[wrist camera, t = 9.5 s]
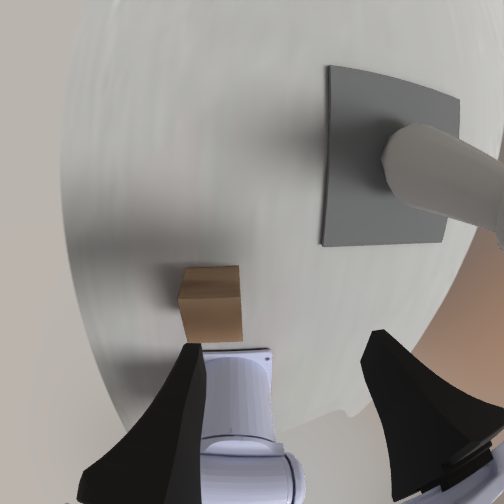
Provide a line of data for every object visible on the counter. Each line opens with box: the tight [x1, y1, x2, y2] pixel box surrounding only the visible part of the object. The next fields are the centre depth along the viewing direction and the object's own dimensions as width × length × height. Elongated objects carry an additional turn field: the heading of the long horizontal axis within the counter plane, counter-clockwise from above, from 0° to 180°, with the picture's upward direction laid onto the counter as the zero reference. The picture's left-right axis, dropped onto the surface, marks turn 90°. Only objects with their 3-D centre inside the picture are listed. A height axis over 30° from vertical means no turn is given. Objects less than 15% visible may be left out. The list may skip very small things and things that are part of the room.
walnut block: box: [177, 266, 243, 343], centre depth 20 cm, size 4×4×4 cm
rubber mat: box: [322, 65, 460, 247], centre depth 17 cm, size 13×12×1 cm
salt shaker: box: [380, 124, 504, 252], centre depth 11 cm, size 6×6×13 cm
